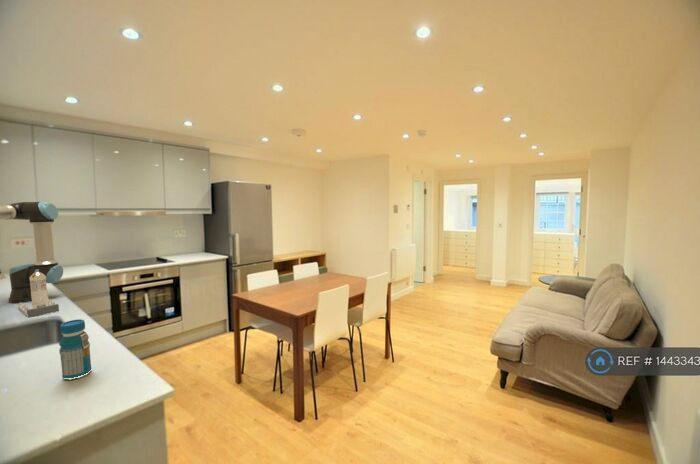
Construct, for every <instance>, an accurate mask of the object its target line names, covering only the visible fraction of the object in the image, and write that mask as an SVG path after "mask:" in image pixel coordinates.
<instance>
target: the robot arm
mask: <svg viewBox="0 0 700 464" xmlns="http://www.w3.org/2000/svg"><path fill="white" fill-rule="evenodd" d="M58 216H59V211H58V207H56V205H55V204H54V203H53V202H50V201H21V202H15V203H7V204H2V205H0V220H3V219H4V220H7V221H8V220H9V221H10V220H23V221H24V220H25V221H29V224H31V225H32V228H33V238H34V249H35V257H36V258H35V259H36V262H35V263H30V264H29V263H28V264H22V265H18V266H13V267H10V268H9V275H8V276H9V280H10V281H9V282H10V287H11V291H10V294H9V297H8V303H9V304H17V303H18V304H19V303H26V302H32V298H31V286H30V280H29V278H30V276H31V275H32V274H34V273H35V270H39V272H40V273H43V274H44V275H45V276H46V284H52V283H57V282H59V281H60V280H61V279H62V277H63V276H64V268H63V266H62V265H60V264H58V262H59V261H57V260H55V251H54V241H53V231H52V224H54V223H55V220H56V219H57V218H58ZM3 279H7V277H6V276H5V274H4V272H3V271H2V269H1V268H0V281H1V280H3Z"/></svg>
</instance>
